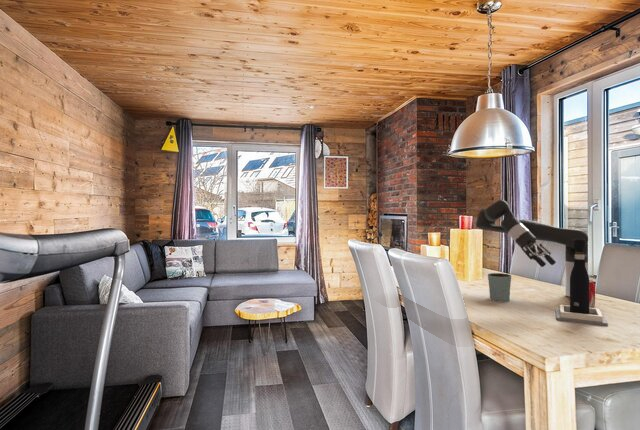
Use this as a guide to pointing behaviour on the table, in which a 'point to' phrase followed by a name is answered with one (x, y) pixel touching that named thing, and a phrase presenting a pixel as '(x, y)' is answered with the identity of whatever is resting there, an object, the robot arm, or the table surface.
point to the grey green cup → (499, 286)
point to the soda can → (591, 294)
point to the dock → (581, 316)
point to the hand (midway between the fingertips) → (549, 264)
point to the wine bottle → (579, 281)
